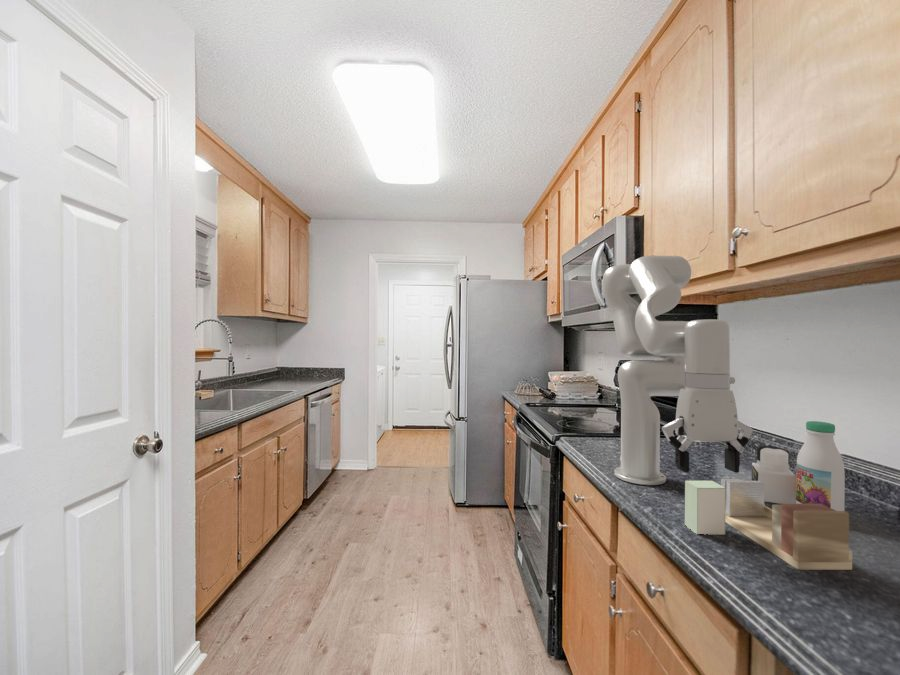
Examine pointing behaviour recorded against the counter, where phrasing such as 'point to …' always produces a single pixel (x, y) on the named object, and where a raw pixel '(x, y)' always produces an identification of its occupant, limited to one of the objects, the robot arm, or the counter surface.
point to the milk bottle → (820, 468)
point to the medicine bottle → (775, 474)
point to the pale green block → (705, 507)
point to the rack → (801, 535)
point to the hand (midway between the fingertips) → (707, 470)
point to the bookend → (744, 497)
